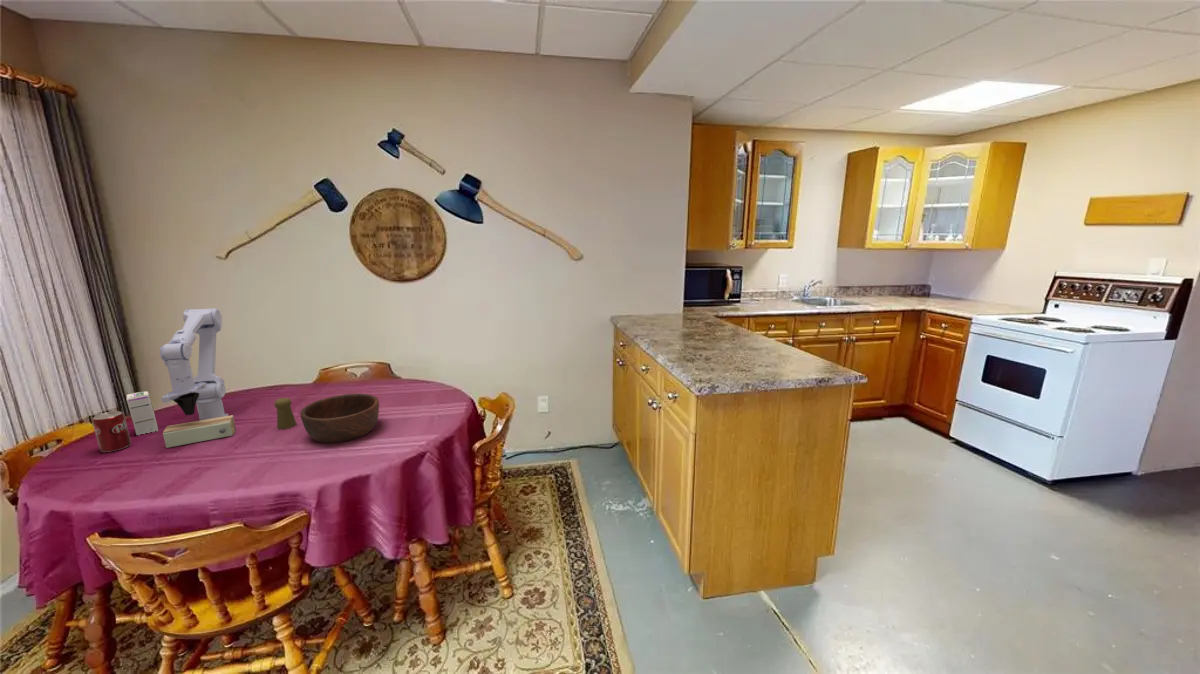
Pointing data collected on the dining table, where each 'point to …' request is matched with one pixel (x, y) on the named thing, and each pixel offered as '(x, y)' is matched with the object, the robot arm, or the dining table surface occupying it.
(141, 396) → the syrup box
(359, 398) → the wooden bowl
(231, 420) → the cabinet
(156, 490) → the dining table surface
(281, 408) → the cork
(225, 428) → the cabinet door
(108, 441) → the soda can
